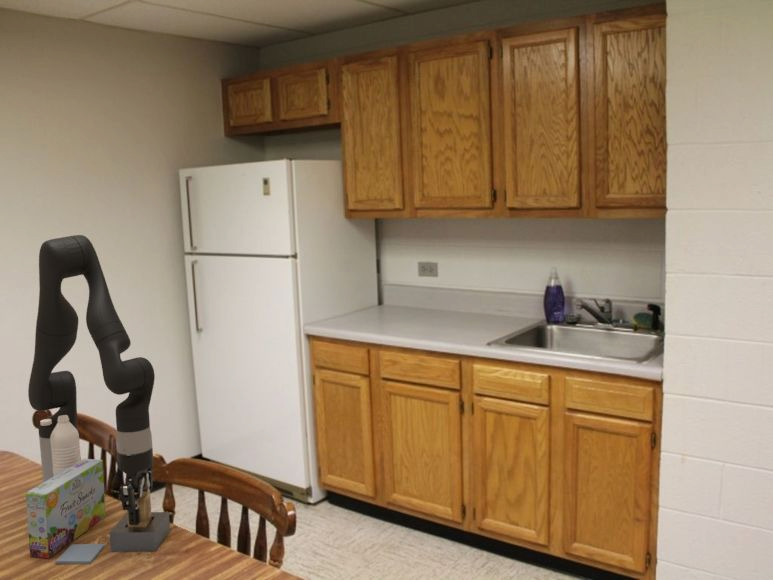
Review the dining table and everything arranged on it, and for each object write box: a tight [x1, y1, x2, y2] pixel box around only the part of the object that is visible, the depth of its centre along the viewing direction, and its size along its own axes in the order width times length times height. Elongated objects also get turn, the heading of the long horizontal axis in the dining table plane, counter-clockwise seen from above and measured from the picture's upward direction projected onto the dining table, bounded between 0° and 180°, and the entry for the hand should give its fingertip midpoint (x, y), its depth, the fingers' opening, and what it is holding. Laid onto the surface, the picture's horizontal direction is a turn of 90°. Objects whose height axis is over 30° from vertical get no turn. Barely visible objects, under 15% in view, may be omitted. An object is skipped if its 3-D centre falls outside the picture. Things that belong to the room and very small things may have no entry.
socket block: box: [109, 511, 171, 553], centre depth 163 cm, size 10×10×4 cm
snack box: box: [25, 458, 106, 559], centre depth 166 cm, size 21×6×15 cm, turn 168°
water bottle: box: [39, 415, 82, 476], centre depth 176 cm, size 9×6×25 cm
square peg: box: [126, 490, 152, 527], centre depth 163 cm, size 4×4×11 cm
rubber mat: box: [55, 543, 106, 565], centre depth 157 cm, size 8×8×1 cm
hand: (139, 517), depth 163 cm, fingers open, 5 cm apart
